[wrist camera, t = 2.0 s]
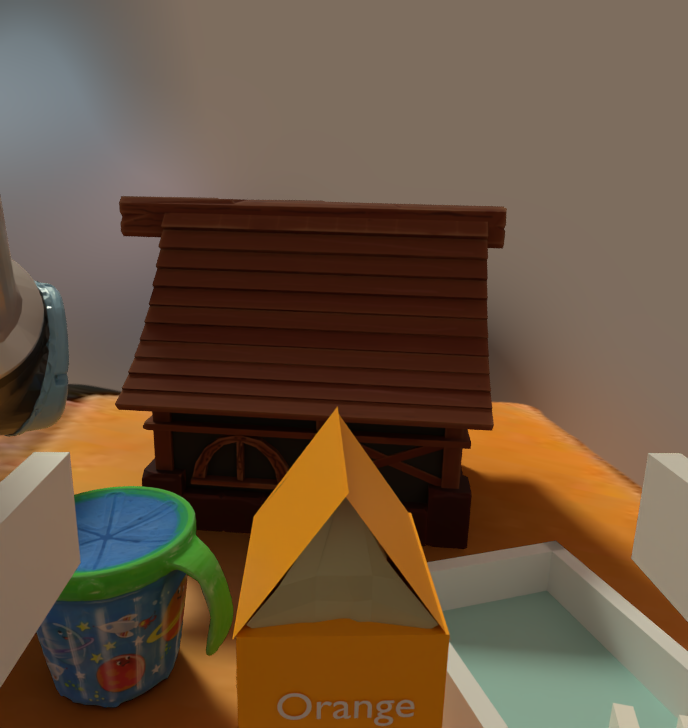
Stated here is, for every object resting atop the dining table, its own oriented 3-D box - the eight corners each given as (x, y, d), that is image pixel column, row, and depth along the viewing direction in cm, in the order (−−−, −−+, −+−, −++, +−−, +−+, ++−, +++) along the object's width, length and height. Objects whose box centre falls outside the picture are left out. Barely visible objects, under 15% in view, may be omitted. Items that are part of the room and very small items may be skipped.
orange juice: (398, 749, 34) (420, 406, 29) (428, 934, 25) (466, 495, 20) (256, 752, 33) (251, 404, 28) (237, 942, 25) (225, 494, 20)
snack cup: (-44, 683, 38) (-69, 535, 35) (89, 588, 47) (77, 465, 44) (160, 783, 32) (148, 613, 29) (266, 651, 41) (264, 513, 38)
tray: (380, 618, 44) (382, 569, 43) (549, 585, 49) (555, 540, 48) (479, 796, 31) (486, 732, 30) (699, 729, 36) (712, 672, 35)
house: (464, 445, 76) (485, 204, 69) (500, 583, 49) (540, 208, 41) (189, 429, 79) (179, 196, 71) (77, 551, 52) (42, 194, 44)
